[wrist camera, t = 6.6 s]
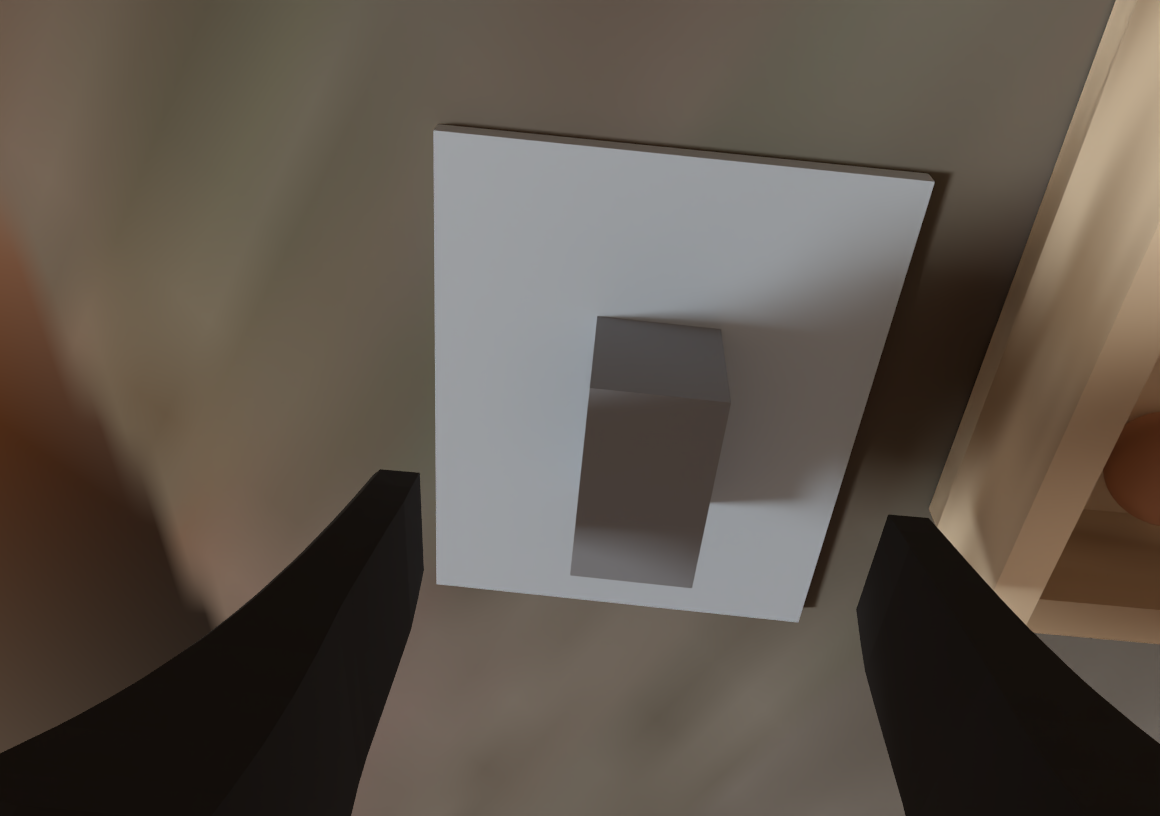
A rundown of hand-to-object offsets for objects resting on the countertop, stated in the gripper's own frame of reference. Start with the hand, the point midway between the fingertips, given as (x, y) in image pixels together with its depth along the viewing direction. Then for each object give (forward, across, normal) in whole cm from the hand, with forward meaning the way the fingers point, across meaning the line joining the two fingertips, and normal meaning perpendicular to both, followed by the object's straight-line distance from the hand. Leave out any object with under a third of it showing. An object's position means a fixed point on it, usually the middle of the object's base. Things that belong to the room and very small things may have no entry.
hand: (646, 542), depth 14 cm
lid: (+5, 0, 0) cm, 5 cm away
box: (+4, -10, -3) cm, 11 cm away
